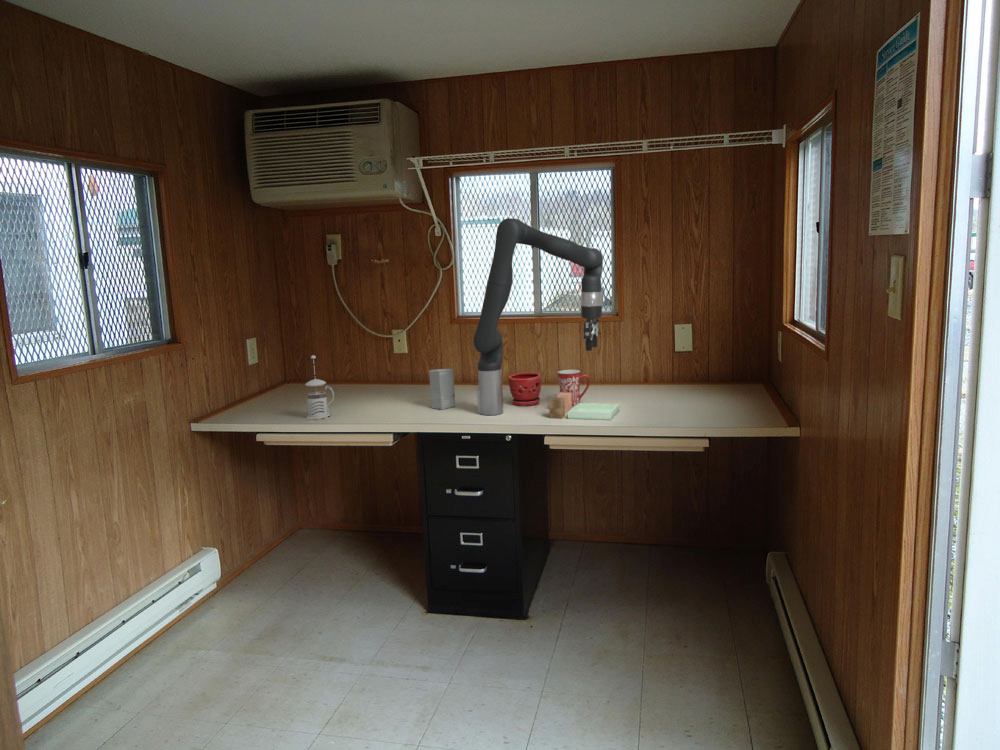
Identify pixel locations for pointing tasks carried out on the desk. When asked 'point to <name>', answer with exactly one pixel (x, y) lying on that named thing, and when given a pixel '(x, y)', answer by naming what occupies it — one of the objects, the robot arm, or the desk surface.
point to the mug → (572, 384)
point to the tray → (593, 411)
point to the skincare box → (442, 388)
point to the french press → (314, 399)
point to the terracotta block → (566, 400)
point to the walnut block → (557, 408)
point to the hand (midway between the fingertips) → (591, 348)
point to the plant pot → (525, 388)
